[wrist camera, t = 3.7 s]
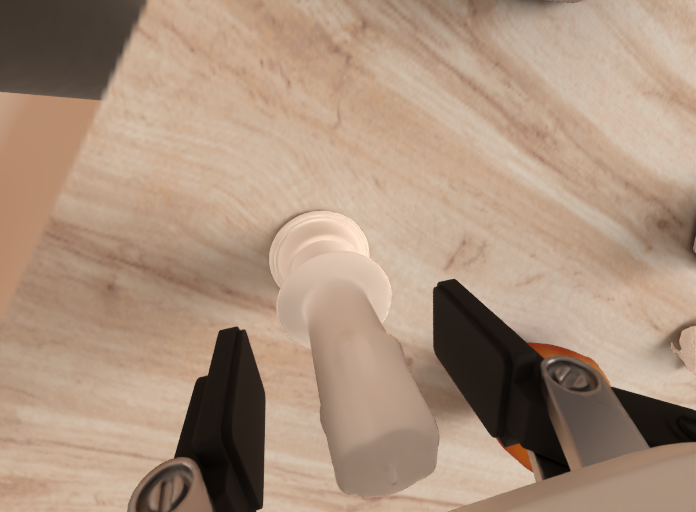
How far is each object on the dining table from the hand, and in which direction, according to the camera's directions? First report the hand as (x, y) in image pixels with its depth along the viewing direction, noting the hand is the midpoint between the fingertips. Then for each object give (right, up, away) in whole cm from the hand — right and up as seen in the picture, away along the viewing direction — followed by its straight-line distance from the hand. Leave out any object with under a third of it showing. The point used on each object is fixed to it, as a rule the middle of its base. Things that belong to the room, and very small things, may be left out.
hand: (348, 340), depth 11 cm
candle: (-1, +3, +6) cm, 7 cm away
